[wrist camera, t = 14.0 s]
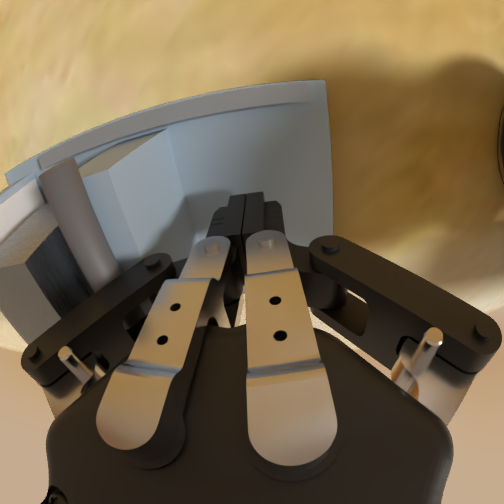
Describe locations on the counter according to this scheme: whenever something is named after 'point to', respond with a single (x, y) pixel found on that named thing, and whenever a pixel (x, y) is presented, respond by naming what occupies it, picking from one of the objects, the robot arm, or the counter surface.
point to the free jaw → (122, 210)
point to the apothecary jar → (501, 146)
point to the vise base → (215, 156)
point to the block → (39, 276)
